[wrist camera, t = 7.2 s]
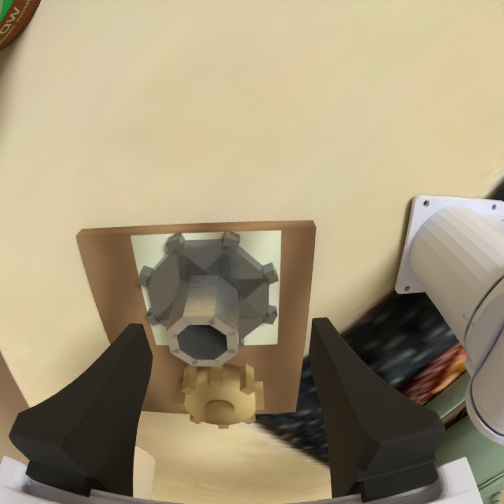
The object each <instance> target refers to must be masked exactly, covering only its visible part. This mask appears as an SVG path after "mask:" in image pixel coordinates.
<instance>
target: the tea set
mask: <svg viewBox="0 0 504 504" xmlns="http://www.w3.org/2000/svg"><path fill="white" fill-rule="evenodd" d="M470 379H471V376H470V374H469V373H468V371H466V372H465V373H464V374H463V375H462V376H460V377H459V378H458V379H457V380H456V381H455V382H453V383H452V384H451V385H450V386H449V387H447V388H446V389H445V390H444V391H443V392H441V393H440V394H439V395H437V396H436V397H435V398H434V399H432V400H431V401H430V402H428V403H427V404H426V405H425V406H424V407H426V408H428V409H430V410H433V411H435V412H437V414H438V416H439V417H440V419H441V421H442V423H443V425H444V427H445V430H446V432H447V433H446V437H445V439H444V441H443V442H442V443H441V445H440V446H439V447H438V448H437V449H436V451H435V452H434V454H435V457H436V461H435V462H434V465H435V468H437V467H439V466H441V465H443V464H446V463H448V462H451V461H454V460H456V459H459V458H462V457H466V458H467V461H468V463H469V466H470V468H471V471H472V474H473V476H474V479H475V482H476V484H477V487H478V490H479V493H480V496H481V499H482V502H483V504H498V503H499V502H500V501H499V500H497V499H498V498H499V497H500V496H501V495H502V493H501V492H500V491H501V490H503V489H504V445H500V444H497V443H495V442H493V441H491V440H489V439H488V438H486V437H485V436H484V435H483V434H482V433H481V432H479V430H478V429H477V428H476V427H475V426H474V424H473V422H472V421H471V419H470V417H469V414H468V412H467V408H466V404H465V392H466V388H467V385H468V383H469V381H470Z"/></svg>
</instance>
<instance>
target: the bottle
mask: <svg viewBox="0 0 504 504" xmlns="http://www.w3.org/2000/svg"><path fill="white" fill-rule="evenodd" d="M155 464H156V461H155V459H154V458H153V456H152V455H150V454H149V453H148V452H146V451H145V450H143V449H142V448H140V447H138V446H136V445H135V453H134V470H133V497H134V498H141V499H147V500H151V496H152V487H153V479H154V471H155Z"/></svg>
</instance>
